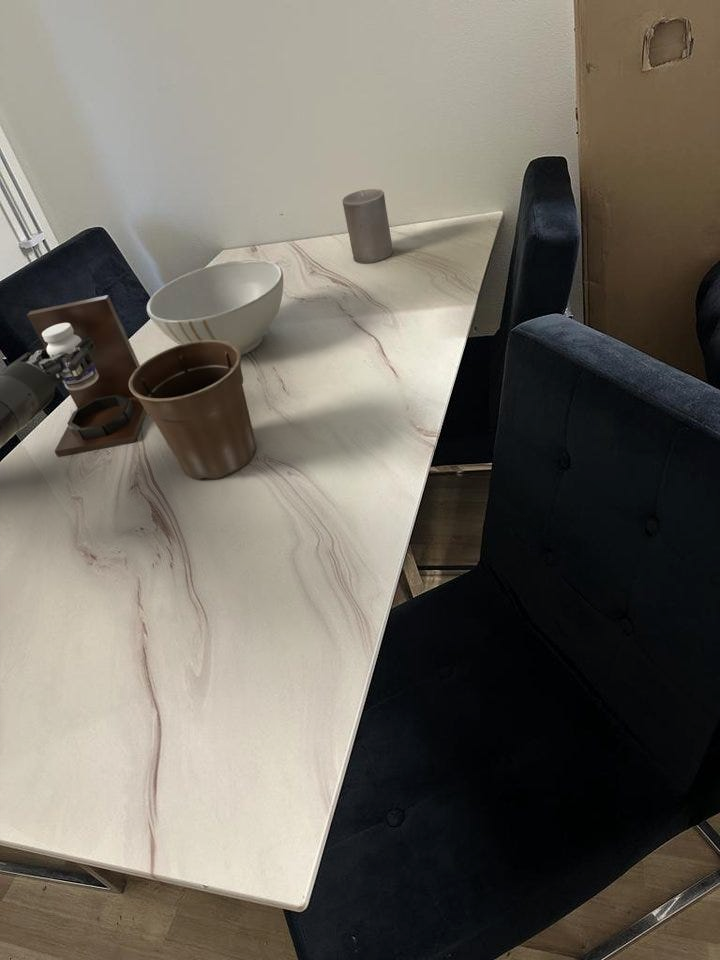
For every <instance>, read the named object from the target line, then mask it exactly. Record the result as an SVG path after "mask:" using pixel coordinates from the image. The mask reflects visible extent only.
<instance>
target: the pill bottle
mask: <svg viewBox="0 0 720 960" xmlns="http://www.w3.org/2000/svg"><path fill="white" fill-rule="evenodd" d="M73 332H74V330H73V328H72V326H71V324H70V323H60V324H57V325H54V326H51V327H49V328H47V329H46V330H44V331H43V332H42V336H43V338H44V341H45V342H47V343H48V346H47V353H48V355H49V357H50V358H51V357H53V356H55V355H56V354H58V353H60V352H68V351H70V350H72V349H73V348H75V347H76V346H77V345H78V344H79V343H80V342H81V341H82V340H81V338H80V337H79V336H77V335H74V334H73ZM74 357H75V355H73V356H71V360H73V358H74ZM60 361H61V362H62V364H63V366H64V368H65V369H66V368H67V367H66V365H65V363H64V361H63V359H60ZM98 377H99V375H98V372H97V370H96V368H95V366H94V364H92V366H91V367H90V368H89V370H88V371H87V372H86V374H85V375H84V376H83V377H82V379H80V380H77V381H75V380H74V378H73V376H70V377H66V378H65V379H64V380H63V381H62V382H61V383H62V384H63V385H64V387H65V388H66V390H67V389H69V390H80V389H84V388H86V387H88V386H90V385H92V384H93V383H95V382H96V381H97V379H98Z"/></svg>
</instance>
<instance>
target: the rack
mask: <svg viewBox="0 0 720 960" xmlns="http://www.w3.org/2000/svg"><path fill="white" fill-rule="evenodd" d="M26 316H27V318H28V320H29V321H30V323H31V325H32V327H33V329H34V331H35V333H36V334H37V336H38V338H39V340H40V342H41V344H42V346H43V348H45V347H46V346H47V345H48V343H47V342H45V341H44V338H43V336H42V332H43V331H44V330H46V329H47V328H49V327H51V326H54V325H57V324H60V323H70V324H71V326H72V328H73V330H74V332H73V334H74V335H77V336H79V337H80V338H81V340H83V339H84V338H87V337H90V338H91V339H92V341H93V343H94V345H95V347H96V348H95V350H94V351H92V352H91V353H90V355H91V357H92V359H93V361H94V363H93V364H94V366H95V368H96V370H97V372H98V375H99V377H98V379H97V381H96V382H95V383H93V384H92V385H90V386H88V387H86V388H84V389H80V390H69V389H67V388H66V390H67V391H68V394H69V395H70V397H71V399H72V401H73V402H74V404H75V407H76V409H75V410H74V411H73V412H72V413H71V416H70V418H69V419H68V421H67V423H66V424H67V427H66V428H65V430H64V433H63V435H62V436H61V438H60V440H59V442H58V443H57V446H56V448H55V450H54V453H55V455H56V456H57V457H64V456H68V455H74V454H79V453H84V452H90V451H95V450H100V449H106V448H111V447H116V446H122V445H127V444H133V443H136V442H137V439H138V437H139V434H140V431H141V429H142V427H143V424H144V422H145V418H146V415H147V414H148V413H147V412H146V410H145V409H144V407H143V405H142V404H141V402H140V400H139V399H138V398H137V397H135V396H134V395H133V394H132V392H131V390H130V388H129V380H130V378H131V376H132V374H133V373H134V371H135V370H136V369H137V368H138V367H139V366H141V364H140V362H139V360H138V357H137V355H136V352H135V351H134V349H133V346H132V345H131V342H130V340H129V337H128V336H127V333H126V331H125V329H124V327H123V324H122V322H121V320H120V318H119V316H118V313H117V311H116V309H115V306H114V304H113V302H112V300H111V298H110V295H109V294H107V295H106V294H105V295H102V296H101V295H100V296H97V297H92V298H88V299H83V300H77V301H73V302H69V303H64V304H58V305H55V306H53V305H52V306H50V307H45V308H40V309H39V308H38V309H35V310H30V311H29V312H28V314H27V315H26Z"/></svg>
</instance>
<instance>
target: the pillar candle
mask: <svg viewBox="0 0 720 960" xmlns="http://www.w3.org/2000/svg"><path fill="white" fill-rule="evenodd" d="M385 197H386V196H385V192H384V191H383V190H382V189H379V188H378V189H377V188H376V189H375V188H370V189H361V190H358V191H354V192H352V193H349V194H347V195H346V196H344V197H343V198H342V207H343V211H344V217H345V222H346V227H347V232H348V236H349V241H350V242H349V243H350V247H351V253H352V259H353V261H354V262H356V263H358V264H373V263H377V262H380V261H383V260H386V259H387V258H389V257H390V256H392V254H393V251H394V248H393V241H392V236H391V235H392V234H391V230H390V224H389V217H388V210H387V204H386V198H385Z"/></svg>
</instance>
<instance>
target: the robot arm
mask: <svg viewBox="0 0 720 960" xmlns="http://www.w3.org/2000/svg"><path fill="white" fill-rule="evenodd" d="M47 346H48V345H47ZM47 346H46V347H43V349H38V350H36V351H34V354H33V353H32V352H26V353H24V354H23V355H21V356H20V357H19V358H17V359H16V360H14V361H13V362H11V363H10V364H9V365H7V366H6V367H4V368H3V369H2V370H1V373H0V449H1V448H2V447H3V446H4V445H5V444H7V443H8V441H10V439H12V438H13V437H14V436H15V435H16V434H17V433H18V432H20V430H23V429H25V427H27V426H28V425H29V424H30V423H31V422H32V421H33V420H34V419H35V418H36V417H37V416H39V414H40V413H41V412H42V411H43V410H44V409H45V408H46V407H47V406H48V405H49V404H50V403H51V402H52V401H53V399H54V397H55V391H56V386H57V385H59V384H60V383H63V382H62V381H63V380H64V379H65V378H66V377H70V376H73V378H74V380H75V381H77V380H80V379H82V377H83V376H84V375H85V374H86V372H87V371H88V370H89V368H90V367H91V366H92V364H93V363H94V361H93V359H92V357H91V355H90V353H91V352H92V351H94V350H95V348H96V347H95V345H94V343H93V341H92V339H91V338H90V337H87V338H84V339H83V340H82V341H81V342H80V343H79V344H78V345H77V346H76V347H75V348H73V349H72V350H70V351H68V352H60V353H58V354H56V355H55V356H53V357H51V358H50V357H49V355H48V353H47ZM73 355H75V357H74V358H73V360H71V356H73ZM60 359H63V361H64V363H65V365H66V367H67V368H66V369H65V368H64V366H63V364H62V362H61V361H60Z"/></svg>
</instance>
